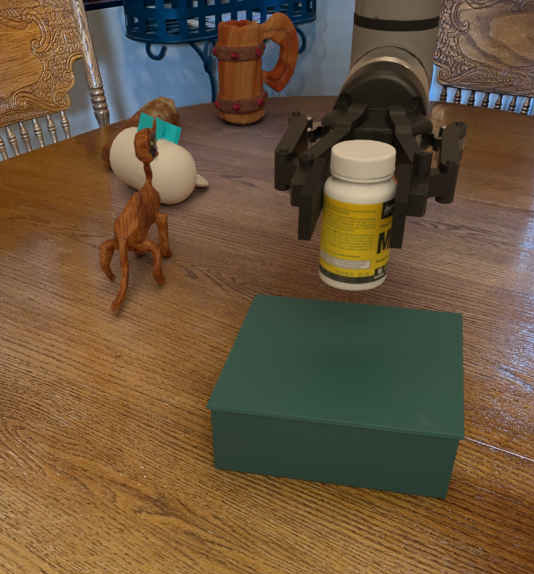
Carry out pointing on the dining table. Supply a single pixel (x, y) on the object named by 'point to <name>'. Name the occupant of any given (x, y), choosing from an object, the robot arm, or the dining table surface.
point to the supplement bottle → (357, 215)
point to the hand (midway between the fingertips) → (351, 221)
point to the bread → (155, 109)
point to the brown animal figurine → (138, 222)
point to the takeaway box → (342, 395)
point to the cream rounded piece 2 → (157, 162)
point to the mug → (252, 65)
